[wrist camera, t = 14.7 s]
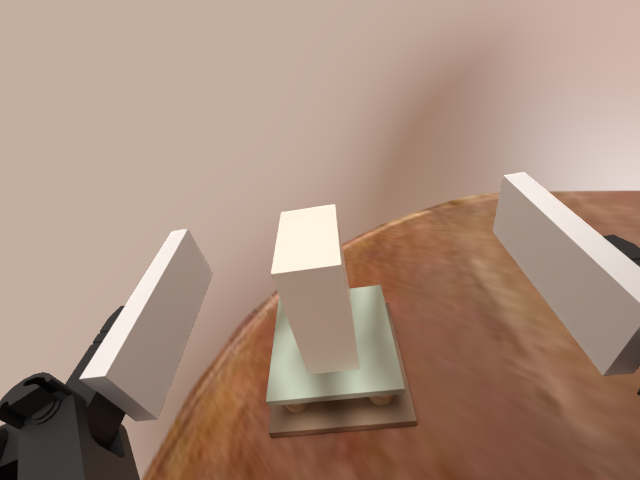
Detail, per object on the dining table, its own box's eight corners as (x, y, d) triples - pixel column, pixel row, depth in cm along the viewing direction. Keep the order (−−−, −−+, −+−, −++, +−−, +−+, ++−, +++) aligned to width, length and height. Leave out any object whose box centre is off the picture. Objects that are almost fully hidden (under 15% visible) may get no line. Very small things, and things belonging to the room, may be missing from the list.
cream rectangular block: (351, 303, 39) (335, 203, 30) (359, 369, 32) (341, 264, 23) (309, 308, 40) (281, 212, 31) (308, 374, 33) (270, 274, 24)
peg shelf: (388, 308, 45) (386, 278, 42) (416, 425, 33) (417, 398, 29) (283, 320, 47) (272, 293, 43) (271, 437, 34) (254, 412, 30)
